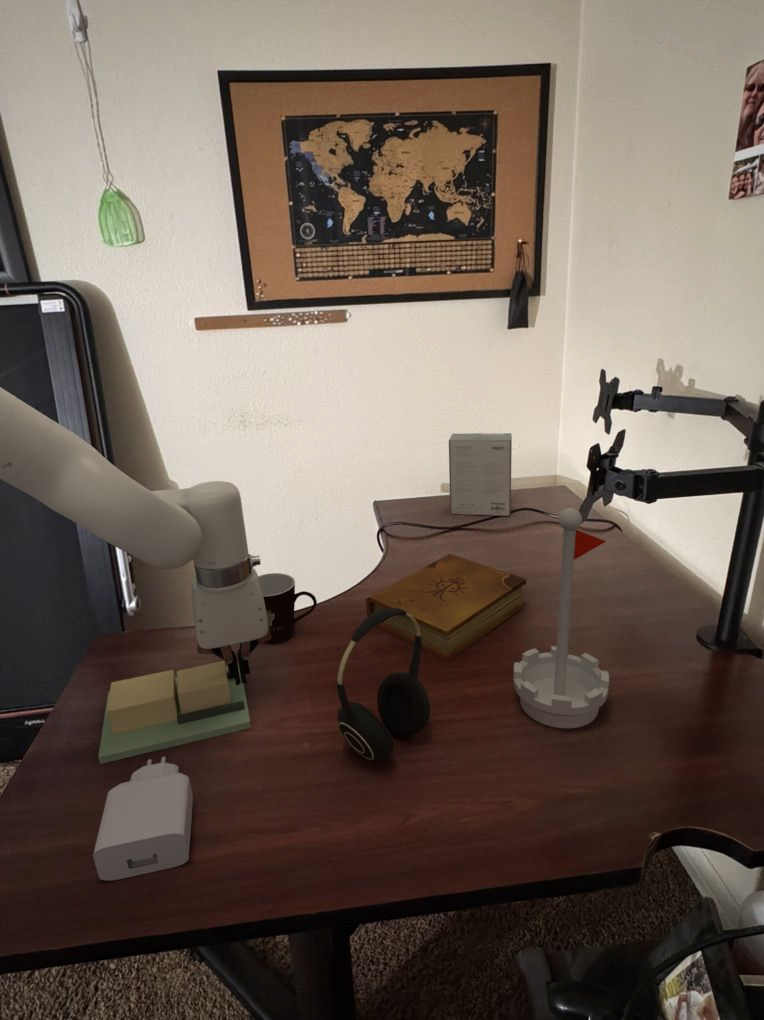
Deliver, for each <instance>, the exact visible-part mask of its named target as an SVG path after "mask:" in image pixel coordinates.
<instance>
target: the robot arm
mask: <svg viewBox="0 0 764 1020" xmlns="http://www.w3.org/2000/svg"><path fill="white" fill-rule="evenodd" d="M0 480H2V481H3V482H5V483H7V484H9V485H11V486H12V487H14V488H16V489H17V490H20V491H21V492H23V493H25V494H27V495H29V496H31V497H32V498H34V499H35V500H37V501H39V502H40V503H42V504H43V505H45V506H46V507H48V508H49V509H51V510H52V511H54V512H56V513H58V514H59V515H61V516H63V517H65V518H67V519H69V520H70V521H72V522H73V523H75V524H77V525H78V526H79V527H81V528H83V529H85V530H86V531H88V532H89V533H91V534H93V535H94V536H96V537H98V538H99V539H101V540H103V541H105V543H108V544H110V545H111V546H113V547H115V548H117V549H119V550H121V551H122V552H124V553H127V554H128V555H130V556H132V557H133V558H136V559H137V560H140V561H141V562H143V563H145V564H147V565H149V566H151V567H154V568H157V569H163V570H174V569H175V570H176V569H178V568H179V569H180V568H182V567H183V566H186V565H188V564H189V563H191V562H192V561H193V567H194V572H195V577H194V578H193V579H191V587H190V588H191V590H190V591H191V607H192V615H193V622H194V630H195V635H196V640H197V644H196V651H197V654H198V655H214V656H216V657H218V658H220V659H222V661H225V664H227V666H228V669H229V675H230V678H235V682H236V686H237V685H240V684H241V682H240V675H241V681H242V683H243V684H244V685H245V684H247V683H248V682H247V676H248V675H251V670H250V663H249V659H250V658H251V657H250V656H251V654H252V653H253V651H254V650H255V649H256V648H257V647H258V645H261V644H265V643H264V642H266V641H268V640H270V639H271V638H272V636H271V632H270V630H269V628H268V619H267V613H266V608H265V602H264V598H263V593H262V589H261V585H260V581H259V578H258V576H259V575H258V573H257V570H256V569H255V568H254V567H256V566H260V565H261V558H260V555H251V553H249V548H248V547H249V546H248V539H247V532H246V525H245V518H244V511H243V503H242V498H241V493H240V489H239V488H238V487H237V486H236V485H235V484H233V483H232V482H229V481H222V480H213V481H205V482H201V483H197V484H195V485H193V486H191V487H187V488H186V487H185V488H177V489H163V490H162V489H161V490H150V489H148V488H147V487H145V486H143V485H142V484H141V483H139V482H138V481H136V480H134V479H133V478H131V476H128V475H127V474H126V473H124V472H123V471H122V470H120V469H119V468H118V467H116V465H114V464H113V463H111V462H110V461H109V460H108V459H107V458H106V457H104V456H103V454H101V453H100V451H98V450H97V449H96V448H94V447H93V446H92V445H91V444H89V443H88V442H87V441H86V440H84V439H83V438H81V437H80V436H79V435H78V434H76V433H74V432H73V431H72V430H69V428H66V427H64V426H63V425H61V424H60V423H58V422H56V421H55V420H53V419H52V418H50V417H48V416H47V415H45V414H43V413H42V412H41V411H38V410H37V409H36V408H35V407H32V406H31V405H29V404H28V403H26V402H24V401H23V400H21V399H19V398H18V397H16V395H14V394H12V393H10V392H9V391H7V390H5V389H4V388H3V387H1V386H0ZM236 644H239V649H237V652H235V651H234V650H233V649H232V645H236ZM238 664H239V669H240V675H239V669H238Z"/></svg>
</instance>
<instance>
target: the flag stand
mask: <svg viewBox="0 0 764 1020" xmlns="http://www.w3.org/2000/svg"><path fill="white" fill-rule="evenodd" d="M558 524H559V526H560V528H562V529H563V533H562V534H563V535H562V549H561V550H562V551H561V566H560V583H559V584H560V585H559V599H558V614H557V616H558V617H557V630H556V631H557V632H556V633H557V634H556V645H550V652H541V653H540V652H539V650H538V649H537V648H535V647H534V648H531V649H528V650H526V651H525V652H523V653H522V654H521V661H520V662H516V661H515V662H514V664H513V676H512V678H513V679H512V681H513V688H514V690H515V692H516V693H517V694H518V696H519V703H520V705H521V709H522V710H523V711H524V713H526V715H528V716H529V717H530V718H531V719H533V720H535V721H536V722H538V723H540V724H542V725H545V726H549V727H552V728H556V729H575V728H580V727H584V726H587V725H589V724H590V723H592V722H593V721H594V720H595V719H596V718H597V716H598V714H599V709H600V708H601V707H602V706H603V705H604V704H605V703H606V701H607V699H608V696H609V687H610V675H609V671H608V670H602V669H601V668H600V667H599V665H600V660H599V659H597V658H596V657H594V656H593V655H591V654H589V653H586V652H584V653H583V654H581V655H580V656H577V655H573V654H569V635H570V620H571V619H570V618H571V608H572V607H571V606H572V594H573V593H572V591H573V578H574V577H573V576H574V564H575V563H574V562H575V560H577V559H578V558H580V557H582V556H585V554H587V553H589V552H591V551H592V550H594V549H596V548H598V547H599V546H601V545H603V544H604V543H607V541H606V540H604V539H602V538H600V537H597V536H594V535H591V534H589V533H586V532H583V531H581V530H578V529H579V528H580V527H581V526H582V524H583V517H582V514H581V512H580V511H578V509H575V508H574V507H573V508H572V507H571V508H564V509H563V510H562V511H561V512H560V514H559V515H558Z"/></svg>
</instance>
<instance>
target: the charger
mask: <svg viewBox="0 0 764 1020" xmlns="http://www.w3.org/2000/svg"><path fill="white" fill-rule="evenodd" d="M166 759H167V758H166V756H162V757H161V760H160V762H158V763H154V764H152V762H153V760H152V759H151V758H150V759H148V760H147V763H146V765H143V766H142V767H140V768H138V769H137V770H135V771H134V772H132V774H131V775H130V779H129V781H126V782H121V783H119V784H117V785H115V787H113V788H111V789H110V790H109V791H107V794H106V795H107V796H106V800H105V802H104V803H105V804H104V808H103V813H102V817H101V821H100V825H99V829H98V832H97V833H98V834H97V837H96V841H95V845H94V850H93V854H92V857H93V861H94V865H95V868H96V869H95V870H96V873H97V875H98V879H100V880H102V881H107V882H108V881H118V880H122V879H128V878H131V877H135V876H136V877H137V876H141V875H145V874H149V873H154V872H159V871H163V870H167V869H173V868H176V867H179V866H182V865H184V864H185V863H187V862H188V861H189V860H190V859H189V858H190V847H191V846H190V845H191V832H192V819H193V805H194V794H193V790H192V785H191V780H190V777H189V776H188V775H185V774H184V773H181V772H179V768H180V767H179V766H178V765H177V764H174V763H169V762H166Z"/></svg>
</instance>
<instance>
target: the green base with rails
mask: <svg viewBox="0 0 764 1020" xmlns="http://www.w3.org/2000/svg"><path fill="white" fill-rule="evenodd" d="M238 669H239V663H238ZM226 673H227V679H228V685H229V691H230V698H231V704H226V705H222V706H217V707H213V708H209V709H204V710H200V711H195V712H191V713H187V714H181V708H180V703H179V698H178V687H177V676H176V675H175V670H174V669H169V670H164V671H161V672H160V671H159V672H154V673H149V674H146V675H142V676H136V677H131V678H126V679H121V680H116V681H112V682H111V683H110V690H109V691H108V692H107V698H106V703H105V711H104V717H103V725H102V731H101V736H100V744H99V749H98V761H99V764H100V765H103V764H107V763H110V762H116V761H120V760H123V759H127V758H132V757H135V756H140V755H144V754H148V753H153V752H157V751H161V750H166V749H169V748H173V747H177V746H181V745H182V746H183V745H186V744H190V743H191V744H192V743H194V742H199V741H202V740H207V739H211V738H216V737H221V736H224V735H228V734H232V733H233V734H234V733H235V732H240V731H241V732H242V731H244V730H249V729H252V724H251V717H250V711H249V706H248V701H247V697H246V696H247V695H246V691H245V684H243V683H242V681H241V675H240V669H239V675H240V682H241V684H240V685H237V686H236V682H235V678H230V675H229V669H228V665H227V666H226Z"/></svg>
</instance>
